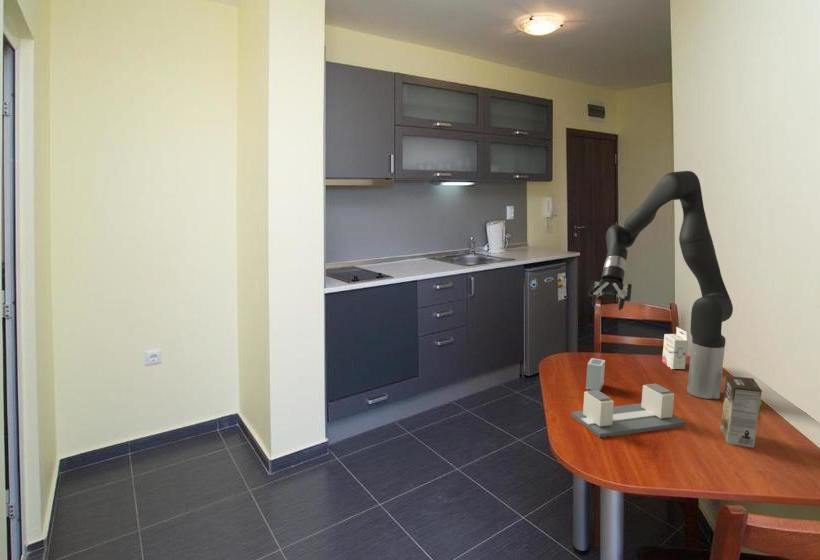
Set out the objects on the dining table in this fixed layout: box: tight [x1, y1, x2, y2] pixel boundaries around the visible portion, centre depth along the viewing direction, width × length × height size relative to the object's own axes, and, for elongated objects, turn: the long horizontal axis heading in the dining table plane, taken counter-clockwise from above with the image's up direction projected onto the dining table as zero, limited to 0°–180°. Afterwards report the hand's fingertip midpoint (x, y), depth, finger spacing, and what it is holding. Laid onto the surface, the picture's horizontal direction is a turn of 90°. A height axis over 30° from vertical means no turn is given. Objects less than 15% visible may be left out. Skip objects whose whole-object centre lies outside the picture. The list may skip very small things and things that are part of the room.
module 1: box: [582, 390, 615, 426], centre depth 138 cm, size 4×8×8 cm, turn 14°
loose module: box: [585, 357, 606, 392], centre depth 166 cm, size 4×7×9 cm, turn 149°
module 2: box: [640, 382, 675, 419], centre depth 143 cm, size 4×8×8 cm, turn 14°
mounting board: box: [570, 402, 687, 439], centre depth 141 cm, size 28×14×2 cm, turn 104°
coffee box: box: [720, 375, 763, 449], centre depth 130 cm, size 9×6×16 cm
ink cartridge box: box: [661, 326, 688, 370], centre depth 185 cm, size 9×5×15 cm, turn 179°
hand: (606, 307), depth 173 cm, fingers open, 8 cm apart
